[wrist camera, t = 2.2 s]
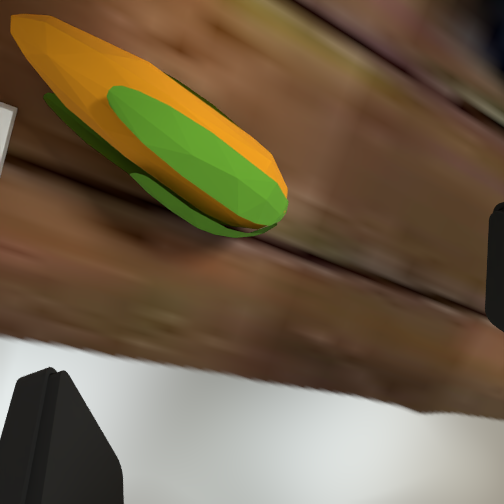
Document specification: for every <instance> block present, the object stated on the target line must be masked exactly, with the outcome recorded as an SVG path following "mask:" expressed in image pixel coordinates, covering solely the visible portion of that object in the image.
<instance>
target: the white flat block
mask: <svg viewBox="0 0 504 504" xmlns="http://www.w3.org/2000/svg"><path fill="white" fill-rule="evenodd" d="M17 109H18V108H16V107H13V106H10V105H8V104H5V103H2V102H0V176H1V172H2V168H3V164H4V160H5V156H6V152H7V148H8V144H9V141H10V137H11V133H12V129H13V125H14V121H15V117H16V113H17Z"/></svg>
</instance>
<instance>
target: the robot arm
mask: <svg viewBox="0 0 504 504" xmlns="http://www.w3.org/2000/svg"><path fill="white" fill-rule="evenodd" d="M485 312H486V315H487V317H488V319H489V320H490V322H491V323H492V324H493V325H494V326H496V327H497V328H499V329H500V330H501V331H503V332H504V202H502V203H499V204H498V205H497V206H496V207H495V208H494V210H493V213H492V214H491V216H490V218H489V233H488V256H487V278H486V300H485ZM123 499H124V498H123V474H122V469H121V465H120V463H119V460H118V458H117V456H116V455H115V453H114V451H113V449H112V448H111V446H110V444H109V443H108V441H107V439H106V437H105V436H104V434H103V432H102V430H101V429H100V427H99V426H98V424H97V422H96V420H95V419H94V417H93V415H92V413H91V412H90V410H89V408H88V407H87V405H86V403H85V401H84V400H83V398H82V396H81V395H80V393H79V391H78V389H77V388H76V386H75V385H74V383H73V381H72V379H71V378H70V376H69V375H68V373H67V372H66V371H60V372H56V370H55V369H53V368H52V367H49V368H46V369H43V370H40V371H37V372H35V373H32V374H29V375H27V376H24V377H21V378H19V379H18V380H17V383H16V385H15V389H14V392H13V396H12V399H11V403H10V406H9V410H8V413H7V417H6V421H5V424H4V428H3V431H2V435H1V438H0V504H124V500H123Z"/></svg>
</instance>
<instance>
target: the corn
mask: <svg viewBox="0 0 504 504" xmlns="http://www.w3.org/2000/svg"><path fill="white" fill-rule="evenodd" d="M10 33H11V34H12V36H13V38H14V39H15V41H16V43H17V44H18V46H19V48H20V49H21V51H22V53H23V54H24V56H25V57H26V59H27V60H28V62H29V63H30V64H31V65H32V66H33V68H34V69H35V70H36V71H37V72H38V74H39V75H40V76H41V77H42V79H43V80H44V81H45V82H46V83H47V85H48V86H49V87H50V88H51V90H52V91H53V92H54V93H46V94H45V95H44V98H43V99H44V100H45V102H46V103H47V104H48V106H49V107H50V108H51V109H52V110H53V111H54V112H55V113H56V114H57V115H58V116H59V118H60V119H61V120H63V121H64V122H65V123H66V124H67V125H68V126H69V127H70V128H71V129H72V130H73V131H74V132H75V133H76V134H77V135H78V136H79V137H81V138H82V139H83V140H84V141H85V142H86V143H87V144H88V145H90V146H91V147H93V148H94V149H95V150H97V151H98V152H99V153H101V154H102V155H104V156H105V157H106V158H108V159H109V160H110V161H112V162H113V163H114V164H116V165H117V166H119V167H120V168H121V169H123V170H124V171H125V172H127V173H128V174H129V175H130V176H131V177H132V178H133V179H134V180H135V181H136V182H137V183H138V184H139V185H140V186H141V187H142V188H143V189H144V190H145V191H146V192H147V193H149V194H150V195H151V196H152V197H154V198H155V199H156V200H158V201H159V202H160V203H162V204H163V205H164V206H165V207H167V208H168V209H169V210H171V211H172V212H173V213H175V214H176V215H178V216H180V217H181V218H183V219H184V220H186V221H187V222H189V223H190V224H192V225H193V226H195V227H197V228H199V229H201V230H204V231H207V232H209V233H212V234H215V235H221V236H227V237H233V238H237V237H247V236H255V235H259V234H262V233H265V232H267V231H268V230H270V229H271V228H273V227H275V226H276V225H277V222H279V221H281V219H282V218H283V216H284V215H285V213H286V211H287V207H288V200H287V191H288V188H287V186H286V184H285V182H284V180H283V178H282V175H281V173H280V171H279V169H278V167H277V165H276V162H275V160H274V158H273V156H272V154H271V153H270V152H269V151H267V150H266V149H265V148H264V147H263V146H262V145H261V144H260V143H258V142H257V141H256V140H255V139H254V138H253V137H251V136H250V135H249V134H247V133H246V132H244V131H243V130H242V129H241V128H240V127H239V126H237V125H236V124H235V123H234V122H233V121H232V120H230V119H229V118H228V117H227V116H226V115H225V114H223V113H222V112H221V111H220V110H219V109H217V108H216V107H215V106H214V105H213V104H211V103H210V102H208V101H207V100H206V99H204V98H203V97H201V96H200V95H198V94H197V93H195V92H194V91H193V90H191V89H190V88H188V87H187V86H185V85H184V84H182V83H181V82H180V81H178V80H176V79H175V78H173V77H171V76H169V75H167V74H166V73H164V72H162V71H160V70H159V69H158V68H156V67H155V66H154V65H152V64H151V63H149V62H148V61H146V60H143V59H141V58H139V57H137V56H135V55H133V54H131V53H129V52H126V51H124V50H122V49H120V48H118V47H116V46H114V45H112V44H110V43H107V42H105V41H103V40H101V39H99V38H97V37H95V36H93V35H90V34H88V33H86V32H84V31H82V30H80V29H78V28H76V27H74V26H71V25H69V24H67V23H65V22H63V21H61V20H59V19H57V18H55V17H52V16H48V15H35V14H17V15H11V28H10ZM220 224H223V225H228V226H233V227H244V228H252V229H259V230H257V231H254V232H251V233H243V232H239V231H235V230H231V229H227V228H226V227H224V226H222V225H220ZM267 225H268V227H265V226H267ZM262 227H265V228H262ZM260 228H262V229H260Z"/></svg>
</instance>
